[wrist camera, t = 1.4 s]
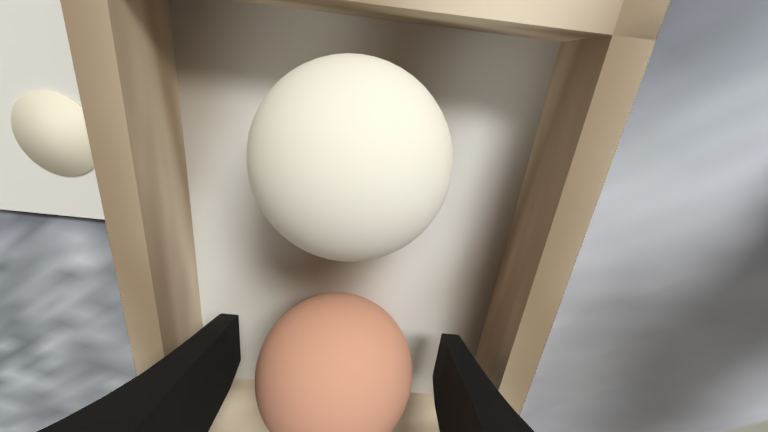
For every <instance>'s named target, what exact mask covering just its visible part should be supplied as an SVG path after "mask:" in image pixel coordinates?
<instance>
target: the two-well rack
mask: <svg viewBox="0 0 768 432" xmlns="http://www.w3.org/2000/svg"><path fill="white" fill-rule="evenodd" d="M670 1H671V0H60V2H61V7H62V12H63V17H64V22H65V27H66V32H67V37H68V42H69V46H70V51H71V56H72V61H73V66H74V71H75V76H76V81H77V85H78V90H79V95H80V100H81V105H82V110H83V115H84V120H85V125H86V129H87V134H88V139H89V144H90V149H91V154H92V159H93V164H94V169H95V173H96V178H97V183H98V188H99V193H100V198H101V203H102V208H103V213H104V217H105V222H106V227H107V232H108V237H109V242H110V247H111V252H112V257H113V261H114V266H115V271H116V276H117V281H118V286H119V291H120V296H121V301H122V305H123V310H124V315H125V320H126V325H127V330H128V335H129V340H130V345H131V349H132V354H133V359H134V364H135V369H136V374H137V376H138V375H140V374H141V373H143V372H144V371H146V370H147V369H148V368H150V367H151V366H153V365H154V364H156V363H157V362H158V361H160V360H161V359H163V358H164V357H165V356H167V355H168V354H169V353H171V352H172V351H173V350H175V349H176V348H177V347H179V346H180V345H181V344H182V343H184V342H185V341H186V340H188V339H189V338H190V337H191V336H193V335H194V334H195V333H197V332H198V331H199V330H200V329H202V328H203V327H204V326H205V325H207V324H208V323H209V322H210V321H212V320H213V319H214V318H215V317H217V316H218V315H219V314H221V313H224V314H235V315H239V333H240V352H241V361H240V364H239V367H238V369H237V372H236V375H235V378H234V380H233V383H232V385H231V388H230V390H229V392H228V394H227V396H226V398H225V400H224V402H223V404H222V406H221V408H220V410H219V412H218V414H217V416H216V418H215V420H214V421H213V423H212V425H211V427H210V429H209V431H208V432H270V431H269V430H268V428H267V427H266V425H265V423H264V421H263V419H262V417H261V414H260V412H259V409H258V406H257V401H256V395H255V370H256V364H257V360H258V356H259V353H260V350H261V347H262V345H263V343H264V341H265V339H266V337H267V335H268V333H269V332H270V330H271V329H272V327H273V326H274V325H275V324H276V322H277V321H278V320H279V319H280V318H281V317H282V316H283V315H284V314H285V313H286V312H287V311H289V310H290V309H291V308H292V307H294V306H295V305H297V304H299V303H300V302H302V301H304V300H306V299H309V298H311V297H314V296H317V295H321V294H326V293H337V292H338V293H350V294H355V295H358V296H361V297H364V298H366V299H369V300H371V301H372V302H374V303H376V304H377V305H379V306H380V307H382V308H383V309H384V310H385V311H386V312H387V313H388V314H389V315H390V316H391V317H392V318H393V319H394V320H395V321H396V323H397V325H398V326H399V328H400V329H401V331H402V333H403V334H404V337H405V339H406V342H407V344H408V347H409V351H410V355H411V361H412V385H411V391H410V396H409V399H408V402H407V405H406V408H405V411H404V413H403V415H402V417H401V419H400V420H399V422H398V424H397V425H396V427H395V428H394V429H393V431H392V432H440V430H439V425H438V420H437V415H436V409H435V403H434V392H433V378H432V376H433V371H434V366H435V362H436V357H437V353H438V348H439V344H440V339H441V334H442V333H445V334H456V335H459V336H460V337H461V339H462V340H463V342H464V343H465V345H466V346H467V348H468V349H469V351H470V352H471V354H472V355H473V357H474V358H475V360H476V361H477V362H478V364H479V365H480V367H481V368H482V370H483V371H484V372H485V374H486V375H487V376H488V378H489V379H490V380H491V382H492V383H493V384H494V386H495V387H496V388H497V390H498V391H499V392H500V393H501V395H502V396H503V397H504V398H505V400H506V401H507V402H508V403H509V404H510V406H511V407H512V408H513V409H514V410H515V411H516V413H517V414H518V415H520V413H521V410H522V407H523V404H524V402H525V399H526V396H527V393H528V391H529V388H530V385H531V382H532V380H533V377H534V374H535V371H536V369H537V366H538V363H539V360H540V358H541V355H542V352H543V349H544V347H545V344H546V341H547V338H548V336H549V333H550V330H551V328H552V325H553V322H554V319H555V317H556V314H557V311H558V308H559V306H560V303H561V300H562V297H563V295H564V292H565V289H566V286H567V284H568V281H569V278H570V275H571V273H572V270H573V267H574V264H575V262H576V259H577V256H578V253H579V251H580V248H581V245H582V242H583V240H584V237H585V234H586V231H587V229H588V226H589V223H590V221H591V218H592V215H593V212H594V210H595V207H596V204H597V201H598V199H599V196H600V193H601V190H602V188H603V185H604V182H605V179H606V177H607V174H608V171H609V168H610V166H611V163H612V160H613V157H614V155H615V152H616V149H617V146H618V144H619V141H620V138H621V135H622V133H623V130H624V127H625V124H626V122H627V119H628V116H629V114H630V111H631V108H632V105H633V103H634V100H635V97H636V94H637V92H638V89H639V86H640V83H641V81H642V78H643V75H644V72H645V70H646V67H647V64H648V61H649V59H650V56H651V53H652V50H653V48H654V45H655V42H656V39H657V37H658V34H659V31H660V28H661V26H662V23H663V20H664V17H665V15H666V12H667V9H668V7H669V4H670ZM343 53H354V54H364V55H369V56H374V57H378V58H381V59H383V60H386V61H389V62H391V63H393V64H395V65H397V66H399V67H401V68H403V69H404V70H405V71H407V72H408V73H410V74H411V75H413V76H414V77H415V78H416V79H417V80H418V81H419V82H420V83H421V84H423V85H424V86H425V88H426V89H427V90H428V91H429V93H430V94H431V95H432V96H433V98H434V99H435V101H436V103H437V104H438V106H439V107H440V109H441V111H442V113H443V115H444V118H445V120H446V122H447V125H448V128H449V132H450V135H451V140H452V147H453V169H452V177H451V182H450V186H449V190H448V193H447V196H446V198H445V200H444V203H443V205H442V207H441V208H440V210H439V212H438V214H437V215H436V217H435V218H434V220H433V221H432V222H431V224H430V225H429V226H428V227H427V228H426V229H425V230H424V232H423V233H422V234H421V235H420V236H418V237H417V238H416V239H415V240H413V241H412V242H411V243H409V244H408V245H406V246H405V247H403V248H401V249H400V250H397V251H395V252H393V253H391V254H389V255H386V256H383V257H380V258H377V259H372V260H367V261H358V262H344V261H336V260H329V259H326V258H322V257H318V256H316V255H313V254H311V253H308V252H306V251H304V250H303V249H301V248H299V247H297V246H295V245H294V244H293V243H291V242H290V241H288V240H287V239H286V238H285V237H283V236H282V235H281V234H280V233H279V232H278V231H277V230H276V229H275V228H274V227H273V226H272V224H271V223H270V222H269V221H268V219H267V218H266V216H265V215H264V214H263V212H262V210H261V209H260V207H259V205H258V203H257V201H256V199H255V197H254V194H253V191H252V189H251V186H250V181H249V177H248V172H247V162H246V159H247V141H248V135H249V130H250V127H251V124H252V121H253V118H254V116H255V114H256V111H257V109H258V107H259V105H260V104H261V102H262V101H263V99H264V98H265V96H266V95H267V93H268V92H269V91H270V89H271V88H272V87H273V86H274V85H275V84H276V83H277V82H278V81H279V80H280V79H281V78H282V77H284V76H285V75H286V74H287V73H289V72H290V71H291V70H293V69H295V68H297V67H298V66H300V65H302V64H304V63H306V62H309V61H311V60H314V59H316V58H320V57H324V56H328V55H332V54H343Z"/></svg>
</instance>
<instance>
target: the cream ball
mask: <svg viewBox="0 0 768 432" xmlns="http://www.w3.org/2000/svg"><path fill="white" fill-rule="evenodd" d="M246 162H247V172H248V177H249V181H250V186H251V189H252V191H253V194H254V197H255V199H256V201H257V203H258V205H259V207H260V209H261V210H262V212H263V214H264V215H265V216H266V218H267V219H268V221H269V222H270V223H271V224H272V226H273V227H274V228H275V229H276V230H277V231H278V232H279V233H280V234H281V235H282V236H283V237H285V238H286V239H287V240H288V241H290V242H291V243H293V244H294V245H295V246H297V247H299V248H301V249H303V250H304V251H306V252H308V253H311V254H313V255H316V256H318V257H322V258H326V259H329V260H336V261H344V262H358V261H367V260H372V259H377V258H380V257H383V256H386V255H389V254H391V253H393V252H395V251H397V250H400V249H401V248H403V247H405V246H406V245H408V244H409V243H411V242H412V241H413V240H415V239H416V238H417V237H418V236H420V235H421V234H422V233H423V232H424V230H425V229H426V228H427V227H428V226H429V225H430V224H431V222H432V221H433V220H434V218H435V217H436V215H437V214H438V212H439V210H440V208H441V207H442V205H443V203H444V200H445V198H446V196H447V193H448V190H449V186H450V182H451V177H452V169H453V147H452V140H451V135H450V132H449V128H448V125H447V122H446V120H445V118H444V115H443V113H442V111H441V109H440V107H439V106H438V104H437V103H436V101H435V99H434V98H433V96H432V95H431V94H430V93H429V91H428V90H427V89H426V88H425V86H424V85H423V84H421V83H420V82H419V81H418V80H417V79H416V78H415V77H414V76H413V75H411V74H410V73H408V72H407V71H405V70H404V69H403V68H401V67H399V66H397V65H395V64H393V63H391V62H389V61H386V60H383V59H381V58H378V57H374V56H369V55H364V54H354V53H343V54H332V55H328V56H324V57H320V58H316V59H314V60H311V61H309V62H306V63H304V64H302V65H300V66H298V67H297V68H295V69H293V70H291V71H290V72H289V73H287V74H286V75H285V76H284V77H282V78H281V79H280V80H279V81H278V82H277V83H276V84H275V85H274V86H273V87H272V88H271V89H270V91H269V92H268V93H267V95H266V96H265V98H264V99H263V101H262V102H261V104H260V105H259V107H258V109H257V111H256V114H255V116H254V118H253V121H252V124H251V127H250V130H249V135H248V141H247V159H246Z"/></svg>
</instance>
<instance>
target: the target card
mask: <svg viewBox="0 0 768 432" xmlns="http://www.w3.org/2000/svg"><path fill="white" fill-rule="evenodd" d="M0 209H3V210H13V211H23V212H33V213H43V214H53V215H63V216H73V217H83V218H93V219H103V220H105V217H104V213H103V208H102V203H101V198H100V193H99V188H98V183H97V178H96V173H95V169H94V164H93V159H92V154H91V149H90V144H89V139H88V134H87V129H86V125H85V120H84V115H83V110H82V105H81V100H80V95H79V90H78V85H77V81H76V76H75V71H74V66H73V61H72V56H71V51H70V46H69V42H68V37H67V32H66V27H65V22H64V17H63V12H62V7H61V2H60V0H0Z"/></svg>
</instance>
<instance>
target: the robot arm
mask: <svg viewBox="0 0 768 432" xmlns="http://www.w3.org/2000/svg"><path fill="white" fill-rule="evenodd" d="M240 361H241V352H240V333H239V315H235V314H224V313H221V314H219V315H218V316H217V317H215V318H214V319H213V320H212V321H210V322H209V323H208V324H207V325H205V326H204V327H203V328H202V329H200V330H199V331H198V332H197V333H195V334H194V335H193V336H191V337H190V338H189V339H188V340H186V341H185V342H184V343H182V344H181V345H180V346H179V347H177V348H176V349H175V350H173V351H172V352H171V353H169V354H168V355H167V356H165V357H164V358H163V359H161V360H160V361H158V362H157V363H156V364H154V365H153V366H151V367H150V368H148V369H147V370H146V371H144V372H143V373H141V374H140V375H138V376H137V377H135V378H134V379H132V380H131V381H129V382H127V383H126V384H124V385H123V386H121V387H119V388H118V389H116V390H114V391H113V392H111V393H109V394H108V395H106V396H104V397H103V398H101V399H99V400H97V401H95V402H94V403H92V404H90V405H88V406H86V407H84V408H82V409H81V410H79V411H77V412H75V413H73V414H71V415H69V416H68V417H66V418H64V419H62V420H60V421H58V422H56V423H54V424H52V425H50V426H48V427H46V428H44V429H42V430H40V431H37V432H208V431H209V429H210V427H211V425H212V423H213V421H214V420H215V418H216V416H217V414H218V412H219V410H220V408H221V406H222V404H223V402H224V400H225V398H226V396H227V394H228V392H229V390H230V388H231V385H232V383H233V380H234V378H235V375H236V372H237V369H238V367H239V364H240ZM432 378H433V392H434V403H435V409H436V415H437V420H438V425H439V430H440V432H534V431H533V430H532V429H531V428H530V427H529V425H528V424H527V423H526V422H525V421H524V420H523V419H522V418H521V417H520V416H519V415H518V414H517V413H516V411H515V410H514V409H513V408H512V407H511V406H510V404H509V403H508V402H507V401H506V400H505V398H504V397H503V396H502V395H501V393H500V392H499V391H498V390H497V388H496V387H495V386H494V384H493V383H492V382H491V380H490V379H489V378H488V376H487V375H486V374H485V372H484V371H483V370H482V368H481V367H480V365H479V364H478V362H477V361H476V360H475V358H474V357H473V355H472V354H471V352H470V351H469V349H468V348H467V346H466V345H465V343H464V342H463V340H462V339H461V337H460V336H459V335H456V334H445V333H442V334H441V339H440V344H439V348H438V353H437V357H436V362H435V366H434V371H433V376H432Z"/></svg>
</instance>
